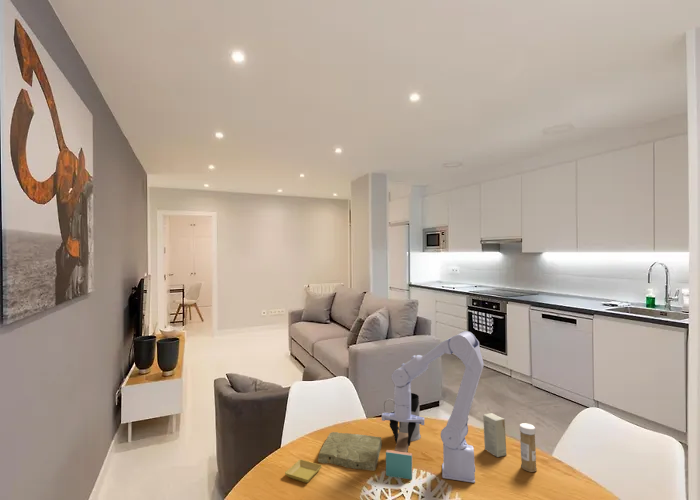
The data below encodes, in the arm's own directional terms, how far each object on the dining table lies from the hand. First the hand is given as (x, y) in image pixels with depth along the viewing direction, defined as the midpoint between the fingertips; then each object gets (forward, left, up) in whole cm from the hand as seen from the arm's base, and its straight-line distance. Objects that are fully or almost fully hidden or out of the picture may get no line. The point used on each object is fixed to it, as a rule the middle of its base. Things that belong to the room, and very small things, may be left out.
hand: (403, 443), depth 118 cm
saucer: (+29, +18, -5) cm, 35 cm away
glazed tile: (0, +11, -4) cm, 12 cm away
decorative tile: (+18, +2, -5) cm, 19 cm away
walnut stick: (0, +2, -2) cm, 3 cm away
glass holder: (+2, -16, -5) cm, 16 cm away
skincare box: (-31, -12, -5) cm, 33 cm away
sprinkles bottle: (-40, -4, -5) cm, 40 cm away
